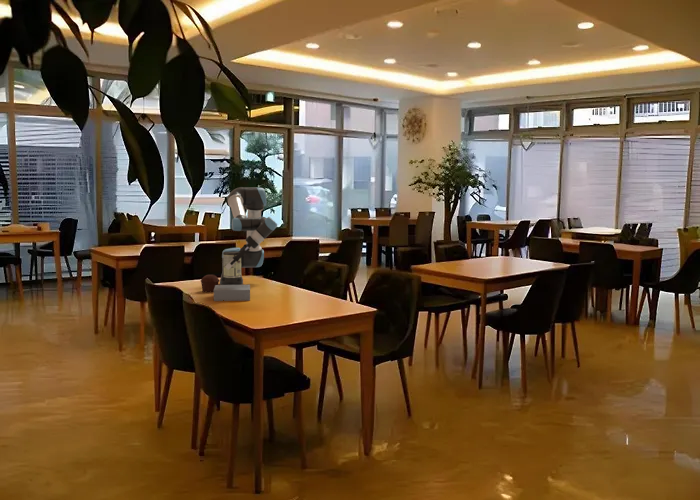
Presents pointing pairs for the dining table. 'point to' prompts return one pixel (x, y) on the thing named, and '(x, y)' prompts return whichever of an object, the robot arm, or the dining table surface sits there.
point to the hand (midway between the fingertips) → (226, 267)
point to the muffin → (209, 283)
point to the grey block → (231, 292)
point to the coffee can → (235, 269)
